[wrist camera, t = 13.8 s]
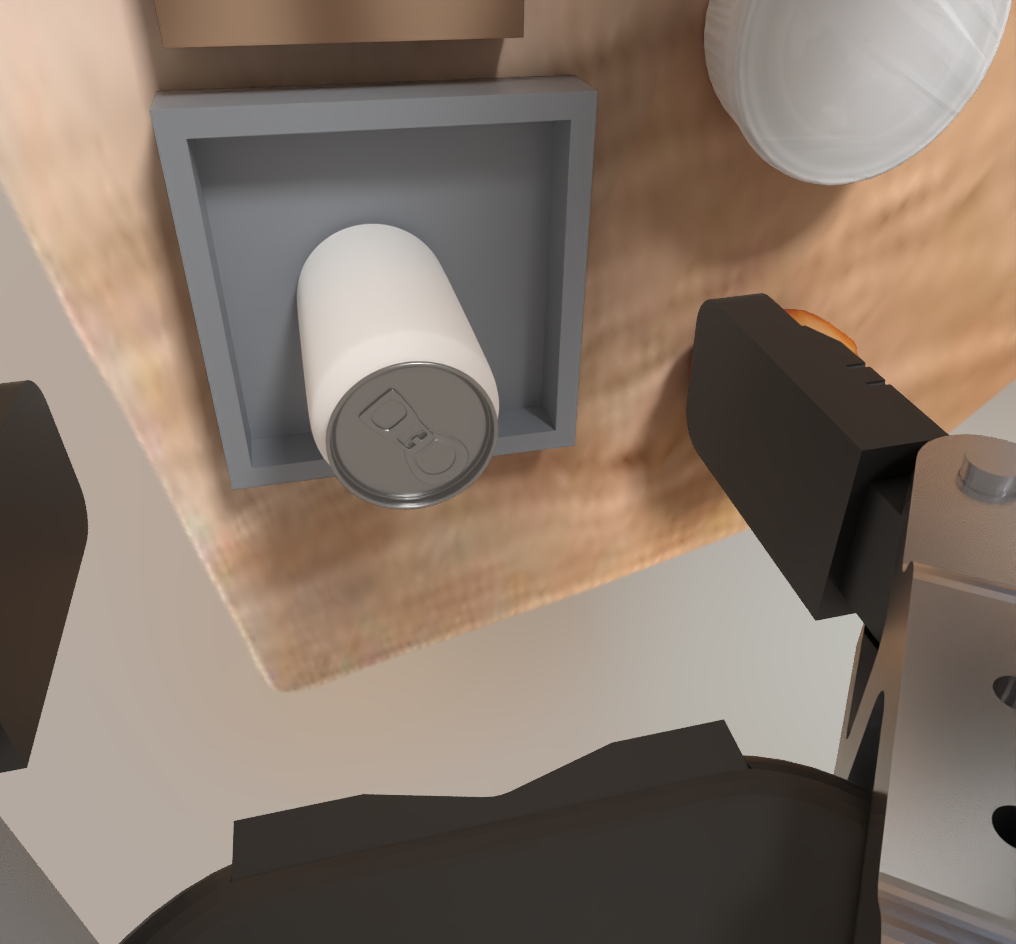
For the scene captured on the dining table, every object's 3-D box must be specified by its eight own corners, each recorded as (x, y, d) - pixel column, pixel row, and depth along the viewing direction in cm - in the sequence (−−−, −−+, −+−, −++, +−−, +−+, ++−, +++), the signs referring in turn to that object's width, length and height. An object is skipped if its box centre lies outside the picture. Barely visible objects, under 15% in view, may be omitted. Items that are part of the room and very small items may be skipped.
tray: (574, 75, 35) (597, 90, 32) (557, 413, 44) (574, 445, 41) (157, 91, 31) (149, 109, 29) (233, 453, 41) (232, 489, 38)
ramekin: (970, -136, 34) (1072, -136, 30) (877, 155, 40) (950, 190, 36) (713, -171, 31) (785, -177, 27) (656, 148, 37) (707, 183, 33)
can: (367, 386, 40) (404, 550, 30) (262, 289, 36) (266, 442, 26) (474, 296, 38) (548, 438, 29) (377, 186, 35) (425, 308, 25)
